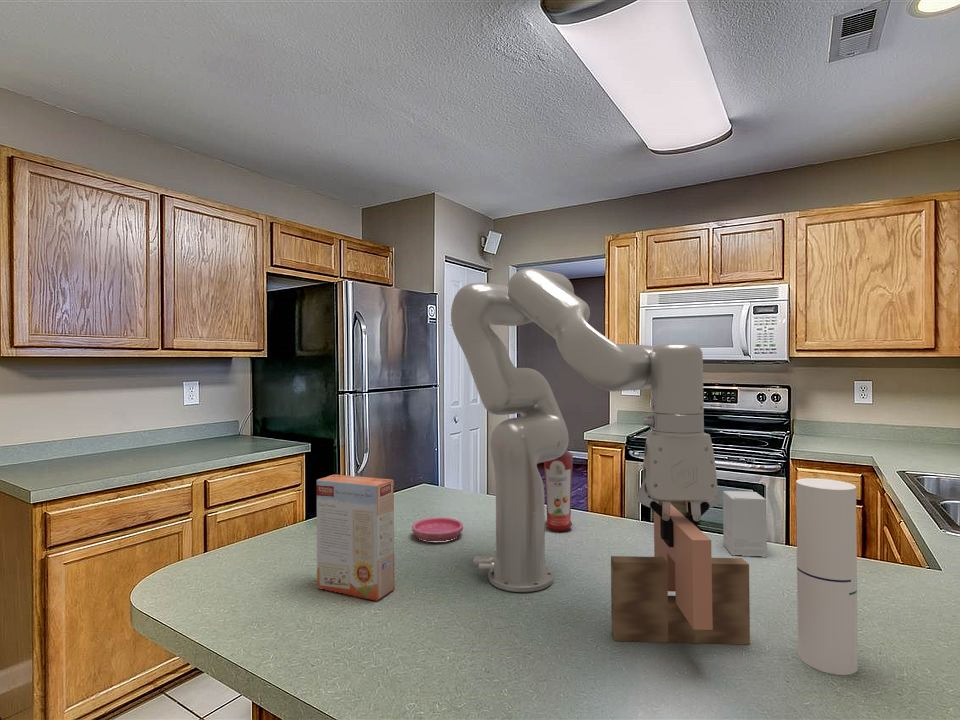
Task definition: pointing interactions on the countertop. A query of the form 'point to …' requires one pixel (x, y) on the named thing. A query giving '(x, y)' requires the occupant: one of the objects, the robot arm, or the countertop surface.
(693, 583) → the terracotta slotted plate
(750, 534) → the supplement box
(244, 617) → the countertop surface
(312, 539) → the countertop surface
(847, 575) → the cylindrical container
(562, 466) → the liquor
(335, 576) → the cracker box
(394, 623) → the countertop surface
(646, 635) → the walnut slotted plate
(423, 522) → the saucer
